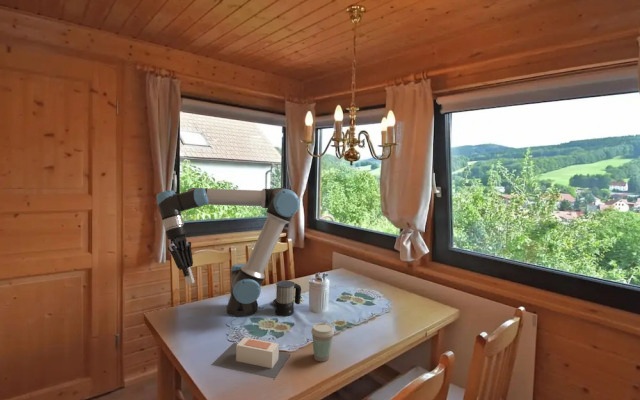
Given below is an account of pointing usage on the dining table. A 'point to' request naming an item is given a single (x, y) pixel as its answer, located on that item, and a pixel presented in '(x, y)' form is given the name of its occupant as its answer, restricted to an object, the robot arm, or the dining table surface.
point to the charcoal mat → (230, 362)
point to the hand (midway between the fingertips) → (190, 283)
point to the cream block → (257, 352)
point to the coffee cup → (322, 341)
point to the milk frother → (286, 297)
